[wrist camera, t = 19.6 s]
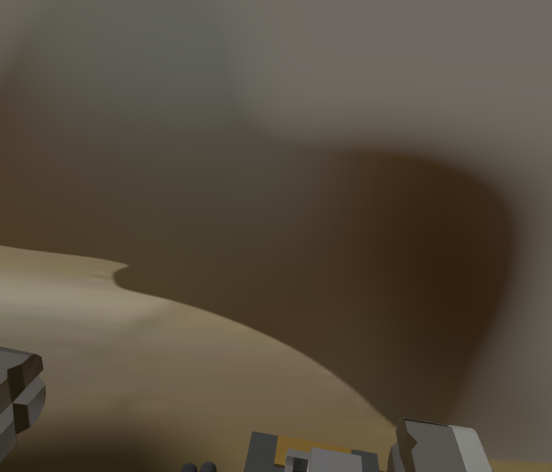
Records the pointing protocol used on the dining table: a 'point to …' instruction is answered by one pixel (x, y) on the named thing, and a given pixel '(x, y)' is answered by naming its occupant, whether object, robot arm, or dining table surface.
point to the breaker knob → (333, 461)
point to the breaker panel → (293, 454)
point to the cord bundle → (207, 468)
